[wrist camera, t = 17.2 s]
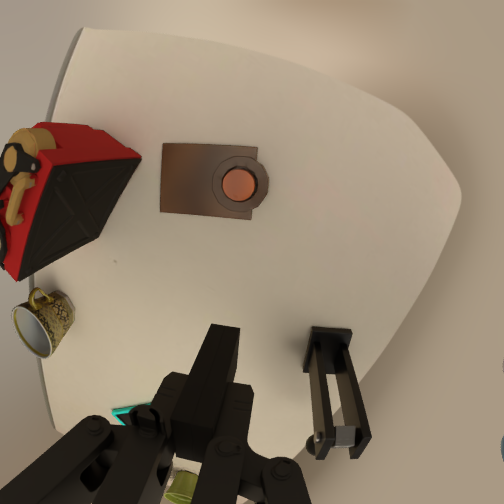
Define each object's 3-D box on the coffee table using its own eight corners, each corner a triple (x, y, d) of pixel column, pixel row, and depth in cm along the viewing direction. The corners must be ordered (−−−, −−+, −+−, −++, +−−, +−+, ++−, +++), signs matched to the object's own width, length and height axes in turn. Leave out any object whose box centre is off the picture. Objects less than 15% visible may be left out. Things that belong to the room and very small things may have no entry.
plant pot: (212, 482, 59) (206, 507, 51) (184, 483, 61) (177, 506, 53) (193, 467, 57) (185, 493, 49) (165, 467, 59) (156, 492, 51)
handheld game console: (192, 430, 52) (190, 435, 50) (139, 437, 55) (138, 441, 54) (163, 400, 49) (160, 405, 48) (112, 409, 53) (109, 413, 51)
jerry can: (98, 119, 34) (-10, 111, 15) (147, 156, 36) (39, 164, 17) (56, 206, 39) (-40, 242, 20) (97, 244, 40) (4, 301, 21)
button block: (272, 148, 34) (271, 148, 32) (265, 220, 37) (264, 224, 35) (164, 143, 35) (157, 142, 33) (161, 211, 38) (154, 214, 35)
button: (256, 170, 33) (255, 170, 32) (254, 200, 34) (252, 202, 33) (226, 167, 33) (223, 167, 32) (223, 197, 34) (221, 199, 33)
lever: (327, 434, 37) (326, 456, 34) (304, 434, 37) (302, 456, 34) (361, 420, 26) (360, 450, 24) (330, 420, 26) (328, 452, 24)
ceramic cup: (82, 338, 47) (53, 369, 37) (44, 315, 47) (14, 340, 37) (85, 282, 43) (49, 309, 33) (45, 259, 42) (7, 280, 33)
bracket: (338, 369, 43) (357, 465, 25) (302, 367, 43) (307, 467, 26) (351, 329, 41) (382, 426, 23) (311, 326, 41) (325, 428, 23)
